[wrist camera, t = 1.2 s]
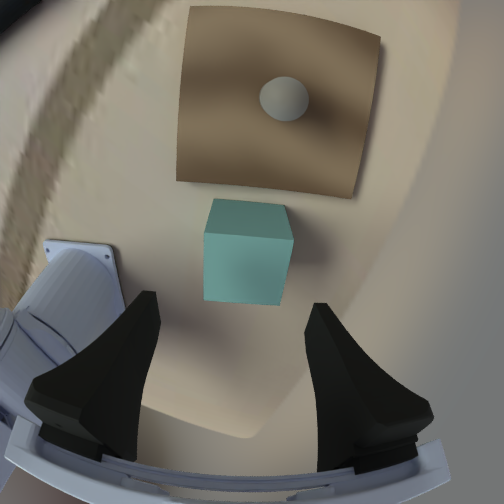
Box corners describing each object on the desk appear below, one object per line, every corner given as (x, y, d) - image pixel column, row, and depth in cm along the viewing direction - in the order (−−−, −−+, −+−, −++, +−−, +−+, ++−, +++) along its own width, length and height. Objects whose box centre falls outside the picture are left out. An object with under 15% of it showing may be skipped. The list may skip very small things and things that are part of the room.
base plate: (346, 194, 19) (366, 217, 16) (179, 176, 18) (164, 197, 15) (374, 38, 13) (403, 30, 9) (193, 10, 12) (179, -9, 8)
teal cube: (273, 262, 22) (279, 305, 18) (211, 257, 22) (203, 300, 18) (284, 205, 20) (294, 240, 15) (213, 198, 19) (204, 232, 15)
